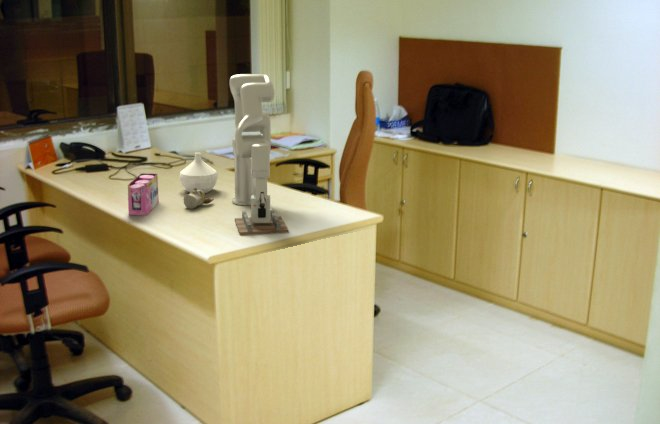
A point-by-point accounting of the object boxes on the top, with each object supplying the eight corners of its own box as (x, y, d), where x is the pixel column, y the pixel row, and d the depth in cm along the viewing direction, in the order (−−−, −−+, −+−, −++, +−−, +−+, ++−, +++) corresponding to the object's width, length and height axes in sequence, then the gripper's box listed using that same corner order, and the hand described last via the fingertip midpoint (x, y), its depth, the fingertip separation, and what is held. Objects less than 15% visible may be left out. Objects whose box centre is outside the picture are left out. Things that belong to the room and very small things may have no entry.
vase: (173, 194, 373) (171, 155, 368) (190, 185, 390) (189, 147, 385) (207, 197, 368) (206, 158, 363) (224, 188, 385) (223, 150, 380)
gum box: (145, 216, 337) (143, 186, 333) (127, 216, 337) (125, 186, 333) (159, 202, 360) (157, 173, 356) (142, 201, 360) (140, 173, 356)
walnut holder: (234, 220, 333) (234, 211, 332) (280, 218, 337) (280, 209, 336) (239, 235, 314) (239, 225, 313) (288, 232, 319) (288, 222, 317)
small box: (270, 219, 328) (270, 194, 325) (270, 222, 323) (270, 198, 320) (251, 218, 328) (251, 194, 325) (250, 222, 322) (250, 198, 320)
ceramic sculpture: (177, 189, 348) (195, 184, 361) (176, 208, 350) (195, 202, 363) (197, 192, 344) (215, 186, 357) (196, 211, 346) (214, 205, 359)
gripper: (248, 168, 327) (249, 209, 332) (254, 178, 311) (254, 221, 316) (266, 168, 328) (266, 208, 333) (272, 178, 312) (272, 220, 317)
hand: (260, 214), depth 325 cm, fingers closed on small box, 6 cm apart
